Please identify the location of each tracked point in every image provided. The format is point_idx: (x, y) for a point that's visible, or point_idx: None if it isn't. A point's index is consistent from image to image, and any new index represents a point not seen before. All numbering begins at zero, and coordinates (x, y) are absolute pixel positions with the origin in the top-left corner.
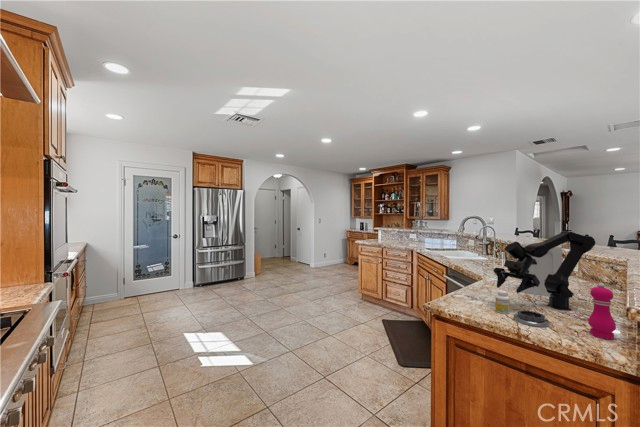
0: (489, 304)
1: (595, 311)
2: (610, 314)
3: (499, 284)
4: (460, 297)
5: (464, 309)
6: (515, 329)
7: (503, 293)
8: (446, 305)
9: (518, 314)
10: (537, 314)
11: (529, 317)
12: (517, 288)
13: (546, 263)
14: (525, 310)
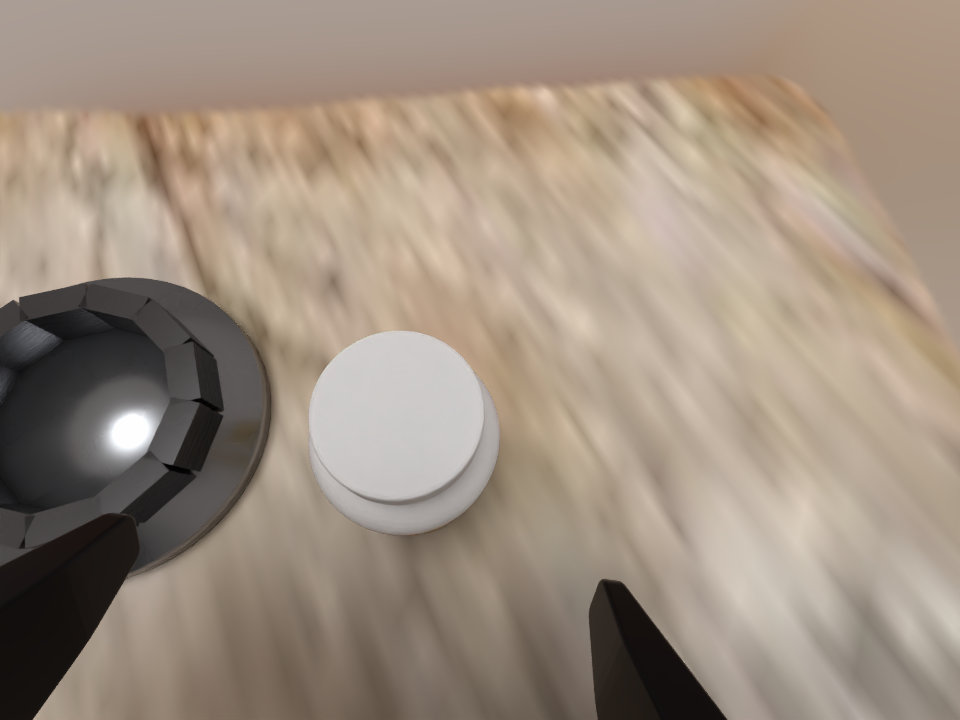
0: None
1: None
2: None
3: (617, 684)
4: (955, 545)
5: (627, 217)
6: (168, 136)
7: (352, 350)
8: (759, 184)
9: (187, 332)
10: (6, 507)
11: (57, 291)
12: (56, 566)
13: None
14: (140, 493)
